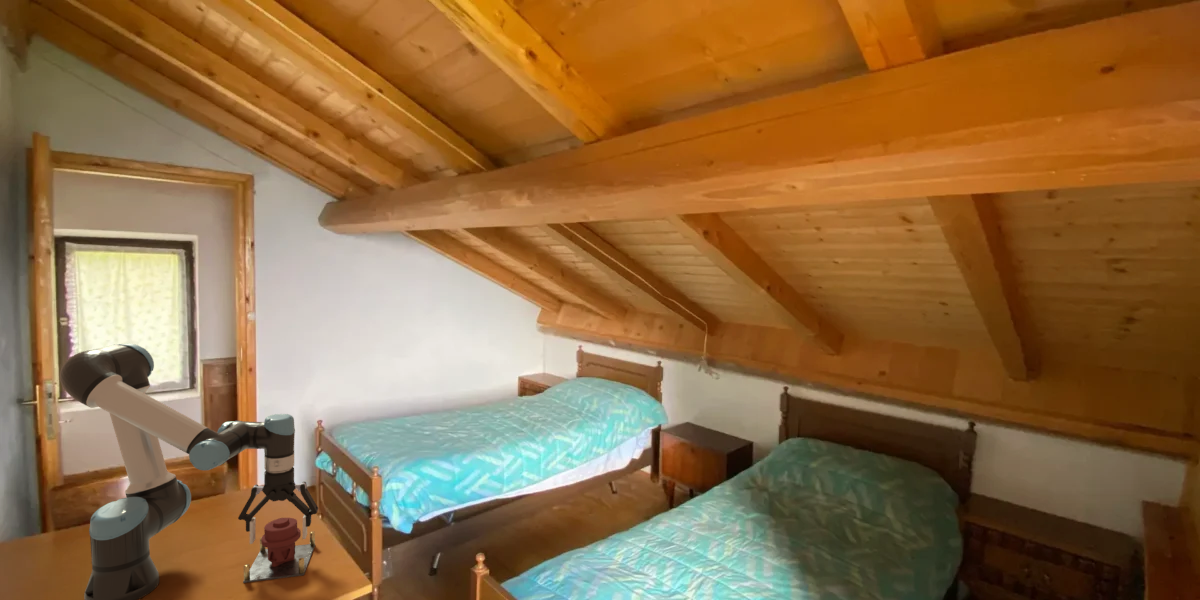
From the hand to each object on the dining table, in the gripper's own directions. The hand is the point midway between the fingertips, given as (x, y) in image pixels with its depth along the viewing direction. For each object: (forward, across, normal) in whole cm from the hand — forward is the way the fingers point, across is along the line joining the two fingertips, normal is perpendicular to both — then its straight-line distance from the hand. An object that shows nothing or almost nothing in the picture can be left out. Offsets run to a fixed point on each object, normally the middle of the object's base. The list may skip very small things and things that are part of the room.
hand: (279, 539), depth 165 cm
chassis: (+7, +1, 0) cm, 7 cm away
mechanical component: (+7, +1, 0) cm, 7 cm away
